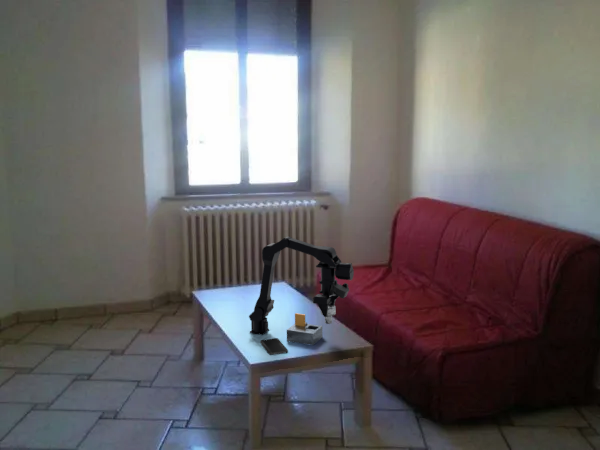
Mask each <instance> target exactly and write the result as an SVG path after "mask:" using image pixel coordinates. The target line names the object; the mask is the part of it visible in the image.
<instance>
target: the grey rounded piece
mask: <svg viewBox="0 0 600 450" xmlns="http://www.w3.org/2000/svg"><path fill="white" fill-rule="evenodd" d="M320 314H321V315H322V316H323V314H322V312H321V311H320ZM336 314H337V313H336V305H335V304H334V305H330V304H329V305H328V312H327V317H324V323H325V324H326V325H330V324H333V316H335V315H336Z"/></svg>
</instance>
